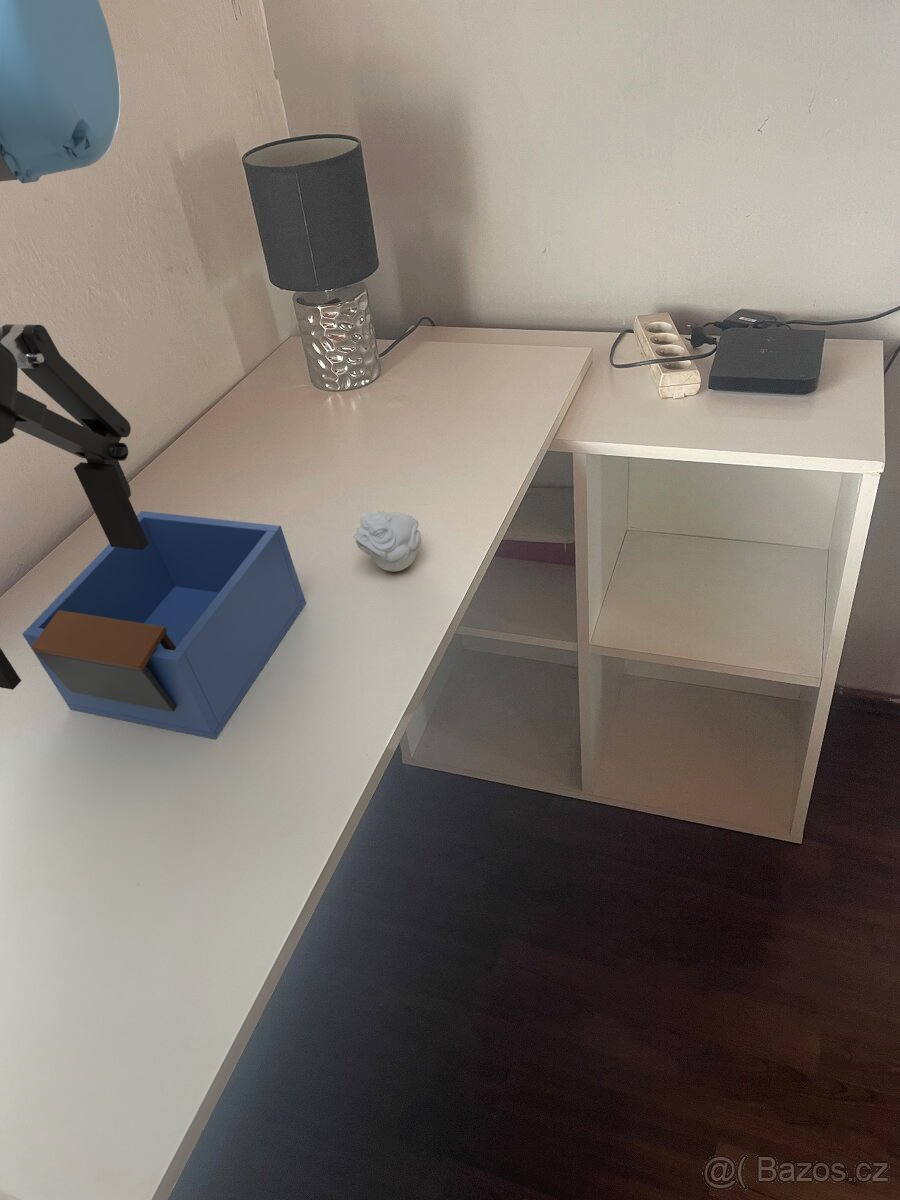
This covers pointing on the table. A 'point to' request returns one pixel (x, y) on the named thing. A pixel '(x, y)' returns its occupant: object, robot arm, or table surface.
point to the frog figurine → (389, 539)
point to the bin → (190, 613)
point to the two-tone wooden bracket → (105, 657)
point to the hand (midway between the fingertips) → (70, 608)
